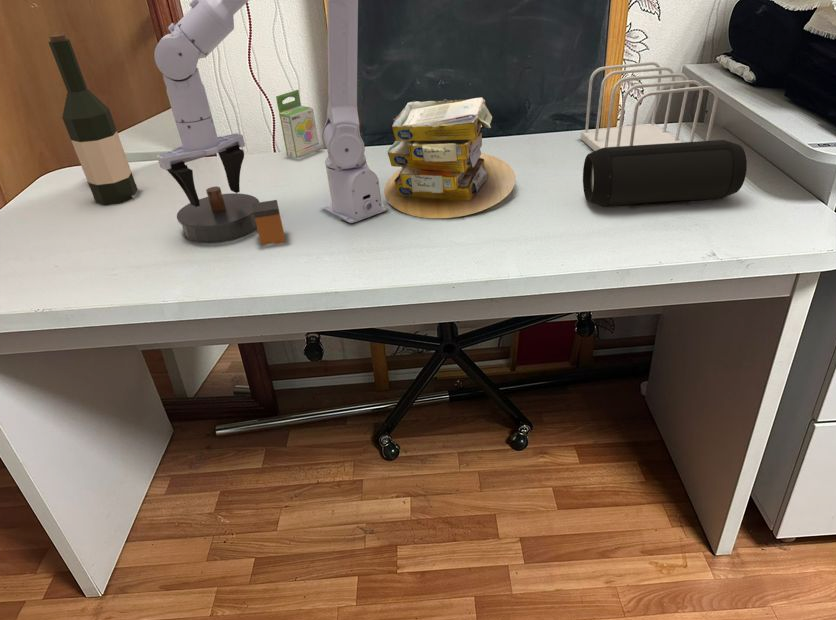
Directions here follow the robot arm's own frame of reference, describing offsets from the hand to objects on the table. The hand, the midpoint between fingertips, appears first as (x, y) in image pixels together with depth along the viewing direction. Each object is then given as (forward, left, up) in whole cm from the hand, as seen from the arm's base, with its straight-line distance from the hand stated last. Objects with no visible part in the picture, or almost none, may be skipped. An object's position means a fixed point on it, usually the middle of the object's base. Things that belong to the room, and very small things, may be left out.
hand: (215, 198), depth 108 cm
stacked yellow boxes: (-17, -39, -6) cm, 43 cm away
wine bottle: (+32, +9, -6) cm, 34 cm away
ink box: (+25, -31, -6) cm, 40 cm away
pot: (0, 0, -6) cm, 6 cm away
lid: (0, 0, -2) cm, 3 cm away
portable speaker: (-48, -61, -6) cm, 78 cm away
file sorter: (-31, -80, -6) cm, 86 cm away
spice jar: (-11, -4, -6) cm, 13 cm away
